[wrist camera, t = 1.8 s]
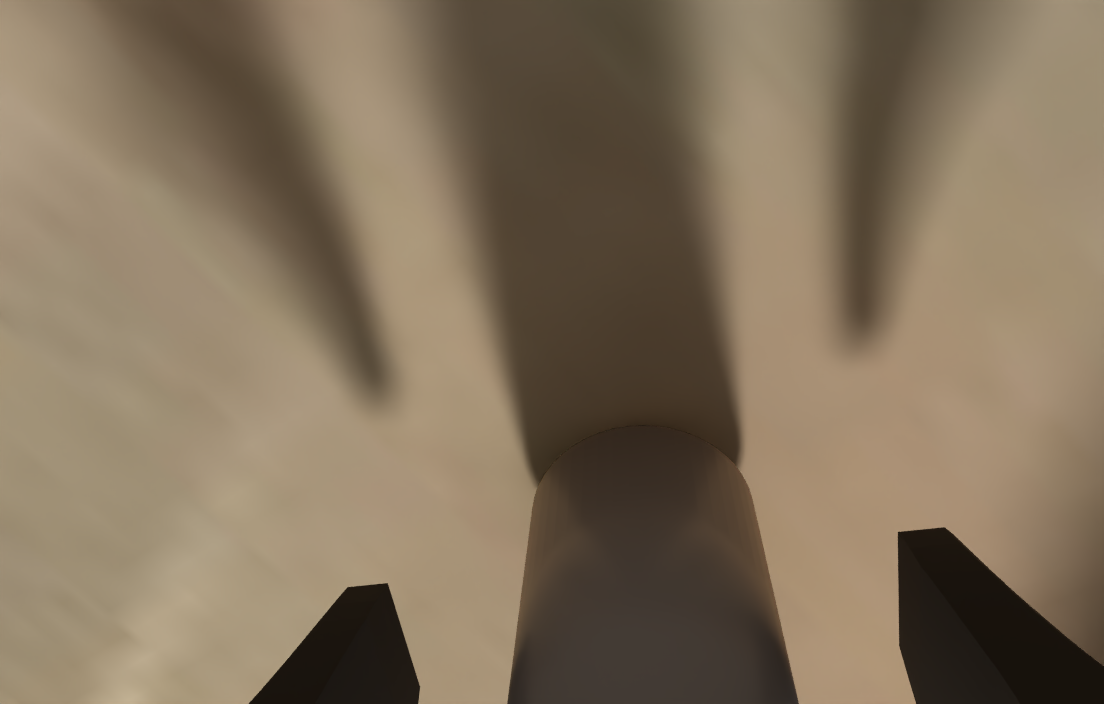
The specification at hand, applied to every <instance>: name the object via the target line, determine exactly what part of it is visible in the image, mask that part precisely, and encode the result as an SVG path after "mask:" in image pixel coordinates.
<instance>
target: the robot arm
mask: <svg viewBox="0 0 1104 704" xmlns="http://www.w3.org/2000/svg"><path fill="white" fill-rule="evenodd" d="M898 578H899V646H900V650H901V653H902V657H903V660H904V664H905V667H906V671H907V674H908V678H909V681H910V684H911V688H912V691H913V694H914V697H915V701H916V704H1104V666H1102V665H1101V664H1100V663H1099V662H1097V661H1096V660H1095V659H1093V658H1092V657H1091V656H1089V655H1088V654H1087V653H1086V652H1084V651H1083V650H1082V649H1081V648H1079V647H1078V646H1077V645H1076V644H1075V643H1073V642H1072V641H1071V640H1070V639H1068V638H1067V637H1066V636H1065V635H1064V634H1062V633H1061V632H1060V631H1059V630H1058V629H1056V628H1055V627H1054V626H1053V625H1052V624H1051V623H1049V622H1048V621H1047V620H1046V619H1045V618H1044V617H1042V616H1041V615H1040V614H1039V613H1038V612H1037V611H1035V610H1034V609H1033V608H1032V607H1031V606H1029V605H1028V604H1027V603H1026V602H1025V601H1024V600H1023V599H1022V598H1020V597H1019V596H1018V595H1017V594H1016V593H1015V592H1014V591H1013V590H1012V589H1011V588H1009V587H1008V586H1007V585H1006V584H1005V583H1004V582H1003V581H1002V580H1001V579H1000V578H999V577H997V576H996V575H995V574H994V573H993V572H992V571H991V570H990V569H989V568H988V567H987V566H986V565H985V564H984V563H983V562H981V561H980V560H979V559H978V558H977V557H976V556H975V555H974V554H973V553H972V552H971V551H970V550H969V549H968V548H967V547H966V546H965V545H964V544H963V543H962V542H961V541H960V540H959V539H958V538H956V537H955V536H954V535H953V534H952V533H951V532H950V531H948V530H947V529H946V528H945V527H944V528H934V529H924V530H914V531H904V532H898ZM419 691H420V686H419V682H418V679H417V676H416V673H415V670H414V666H413V663H412V660H411V657H410V654H409V650H408V647H407V644H406V641H405V637H404V634H403V631H402V628H401V625H400V621H399V618H398V615H397V612H396V609H395V605H394V602H393V599H392V596H391V593H390V589H389V586H388V583H385V584H375V585H365V586H355V587H347V589H346V590H345V591H344V592H343V593H342V594H341V596H340V597H339V598H338V599H337V600H336V601H335V603H334V604H333V605H332V606H331V607H330V609H329V610H328V611H327V612H326V613H325V615H324V616H323V617H322V618H321V620H320V621H319V622H318V623H317V624H316V626H315V627H314V628H313V629H312V630H311V632H310V633H309V634H308V635H307V636H306V638H305V639H304V640H303V641H302V642H301V644H300V645H299V646H298V647H297V649H296V650H295V651H294V652H293V653H292V655H291V656H290V657H289V658H288V659H287V660H286V662H285V663H284V664H283V665H282V666H281V667H280V669H279V670H278V671H277V672H276V673H275V674H274V676H273V677H272V678H271V679H270V680H269V681H268V683H267V684H266V685H265V686H264V687H263V688H262V690H261V691H260V692H259V693H258V694H257V695H256V696H255V697H254V698H253V700H252V701H251V702H250V703H249V704H418V700H419Z"/></svg>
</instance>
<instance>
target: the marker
mask: <svg viewBox="0 0 1104 704" xmlns="http://www.w3.org/2000/svg"><path fill="white" fill-rule="evenodd" d="M507 704H799V703H798V698H797V694H796V689H795V685H794V681H793V676H792V672H791V667H790V663H789V658H788V654H787V650H786V645H785V641H784V636H783V632H782V628H781V623H780V619H779V614H778V610H777V605H776V601H775V597H774V592H773V588H772V583H771V579H770V575H769V570H768V566H767V561H766V557H765V552H764V548H763V544H762V539H761V535H760V530H759V526H758V522H757V517H756V513H755V508H754V504H753V499H752V496H751V493H750V490H749V487H748V485H747V483H746V481H745V479H744V477H743V475H742V474H741V473H740V471H739V470H738V468H737V467H736V466H735V464H734V463H733V462H732V461H731V460H730V459H729V458H728V457H727V456H726V455H725V454H723V453H722V452H721V451H719V450H718V449H717V448H716V447H714V446H713V445H711V444H709V443H708V442H706V441H704V440H702V439H700V438H698V437H696V436H693V435H691V434H689V433H686V432H682V431H679V430H675V429H671V428H665V427H659V426H627V427H622V428H616V429H611V430H608V431H604V432H601V433H598V434H595V435H593V436H591V437H588V438H586V439H584V440H582V441H581V442H579V443H577V444H575V445H574V446H572V447H571V448H570V449H568V450H567V451H566V452H564V453H563V454H562V455H561V456H560V457H559V458H558V459H557V460H556V461H555V462H554V463H553V464H552V465H551V466H550V468H549V469H548V470H547V472H546V473H545V474H544V476H543V478H542V480H541V482H540V484H539V486H538V488H537V491H536V494H535V497H534V502H533V508H532V515H531V523H530V531H529V538H528V546H527V554H526V562H525V570H524V578H523V585H522V593H521V601H520V609H519V617H518V625H517V632H516V640H515V648H514V656H513V664H512V671H511V679H510V687H509V695H508V703H507Z"/></svg>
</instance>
